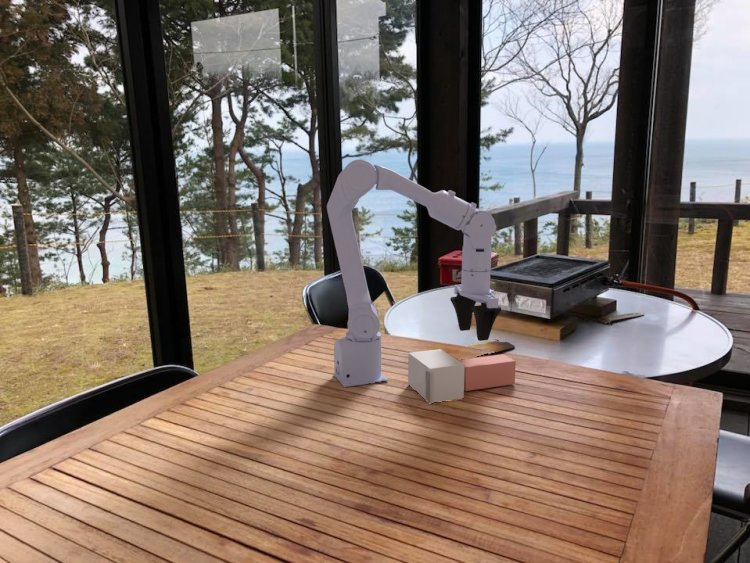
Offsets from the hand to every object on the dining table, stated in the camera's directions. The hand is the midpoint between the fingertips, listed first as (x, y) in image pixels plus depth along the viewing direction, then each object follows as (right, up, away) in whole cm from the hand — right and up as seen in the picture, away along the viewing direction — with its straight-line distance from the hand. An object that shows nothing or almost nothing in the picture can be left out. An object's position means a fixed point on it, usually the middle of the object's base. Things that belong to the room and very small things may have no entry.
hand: (473, 334), depth 114 cm
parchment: (+3, -6, +18) cm, 20 cm away
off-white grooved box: (-9, -10, -7) cm, 15 cm away
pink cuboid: (+2, -10, -3) cm, 10 cm away
